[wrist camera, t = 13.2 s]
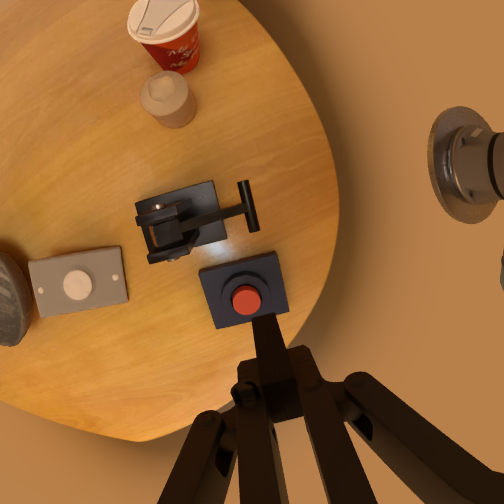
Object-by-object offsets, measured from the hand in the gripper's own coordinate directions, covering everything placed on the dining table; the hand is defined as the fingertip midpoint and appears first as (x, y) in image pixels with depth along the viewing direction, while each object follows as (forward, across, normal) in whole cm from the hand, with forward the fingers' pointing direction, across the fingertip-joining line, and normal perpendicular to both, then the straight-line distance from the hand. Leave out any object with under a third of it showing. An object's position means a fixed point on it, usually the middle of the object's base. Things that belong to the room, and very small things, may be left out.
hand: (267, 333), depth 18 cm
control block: (+23, -2, -6) cm, 24 cm away
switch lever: (+16, -4, +6) cm, 18 cm away
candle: (+23, -5, +21) cm, 32 cm away
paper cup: (+23, -2, +29) cm, 37 cm away
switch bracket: (+23, -8, +6) cm, 25 cm away
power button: (+20, -2, -6) cm, 21 cm away
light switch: (+23, -25, +3) cm, 34 cm away
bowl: (+23, -44, +5) cm, 50 cm away
